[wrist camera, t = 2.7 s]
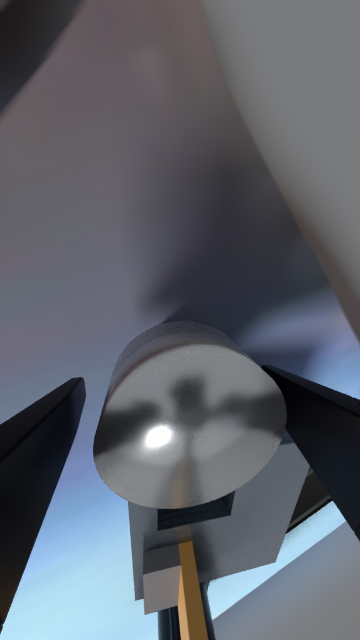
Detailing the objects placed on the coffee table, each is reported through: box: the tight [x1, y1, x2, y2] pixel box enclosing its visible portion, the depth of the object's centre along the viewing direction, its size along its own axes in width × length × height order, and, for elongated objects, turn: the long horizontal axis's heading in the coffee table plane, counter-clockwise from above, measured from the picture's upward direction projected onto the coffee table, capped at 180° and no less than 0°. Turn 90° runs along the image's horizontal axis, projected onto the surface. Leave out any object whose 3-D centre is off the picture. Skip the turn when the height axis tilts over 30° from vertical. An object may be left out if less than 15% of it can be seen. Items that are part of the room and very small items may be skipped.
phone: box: [286, 467, 332, 534], centre depth 20 cm, size 8×1×15 cm
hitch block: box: [128, 429, 310, 601], centre depth 13 cm, size 12×10×5 cm
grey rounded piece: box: [93, 320, 287, 509], centre depth 9 cm, size 6×6×7 cm
